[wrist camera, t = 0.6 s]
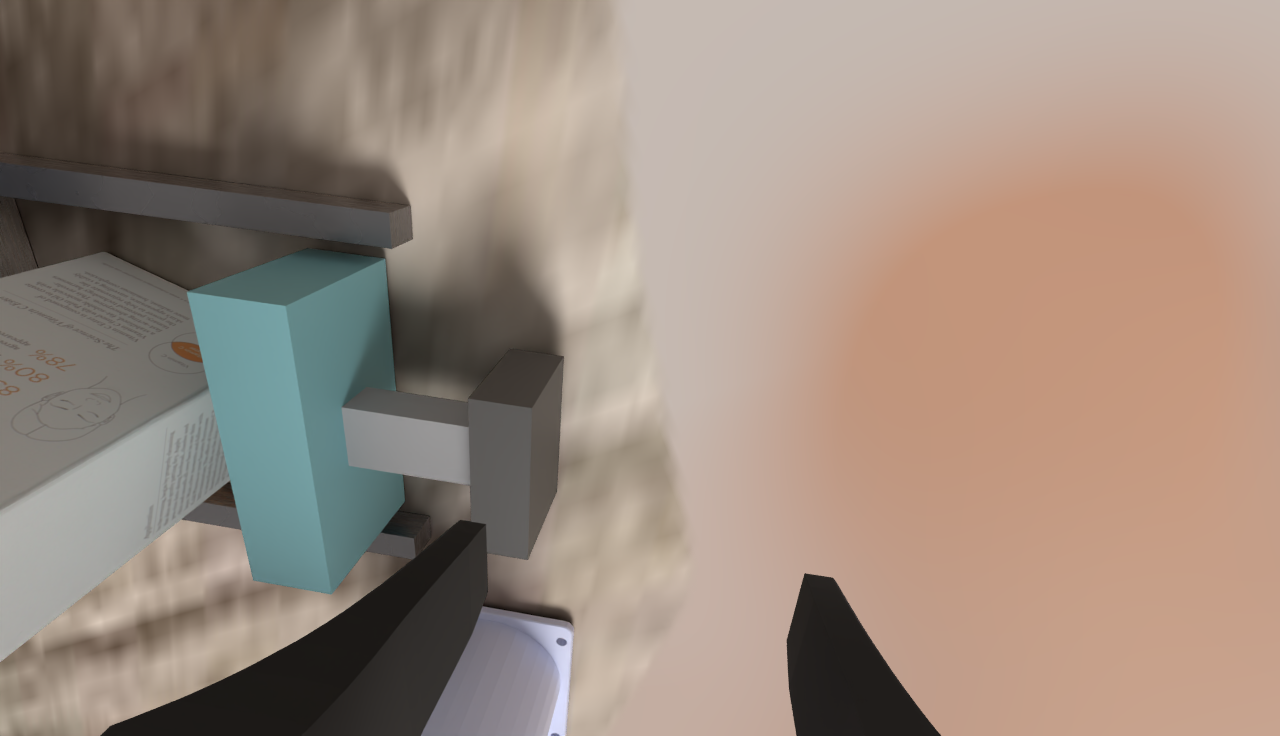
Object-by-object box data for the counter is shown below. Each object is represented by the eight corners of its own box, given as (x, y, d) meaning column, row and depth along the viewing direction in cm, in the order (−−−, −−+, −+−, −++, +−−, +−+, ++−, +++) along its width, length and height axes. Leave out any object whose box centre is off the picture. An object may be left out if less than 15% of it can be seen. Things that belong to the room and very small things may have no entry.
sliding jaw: (559, 526, 26) (520, 628, 21) (340, 490, 27) (253, 580, 22) (572, 284, 21) (526, 340, 16) (307, 248, 22) (186, 291, 17)
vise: (430, 537, 27) (359, 645, 22) (52, 472, 29) (-104, 559, 23) (410, 205, 21) (302, 242, 16) (-74, 142, 22) (-328, 157, 17)
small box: (97, 375, 26) (-419, 603, 14) (105, 246, 23) (-523, 397, 12) (272, 454, 27) (-86, 737, 15) (299, 338, 24) (-110, 570, 12)
